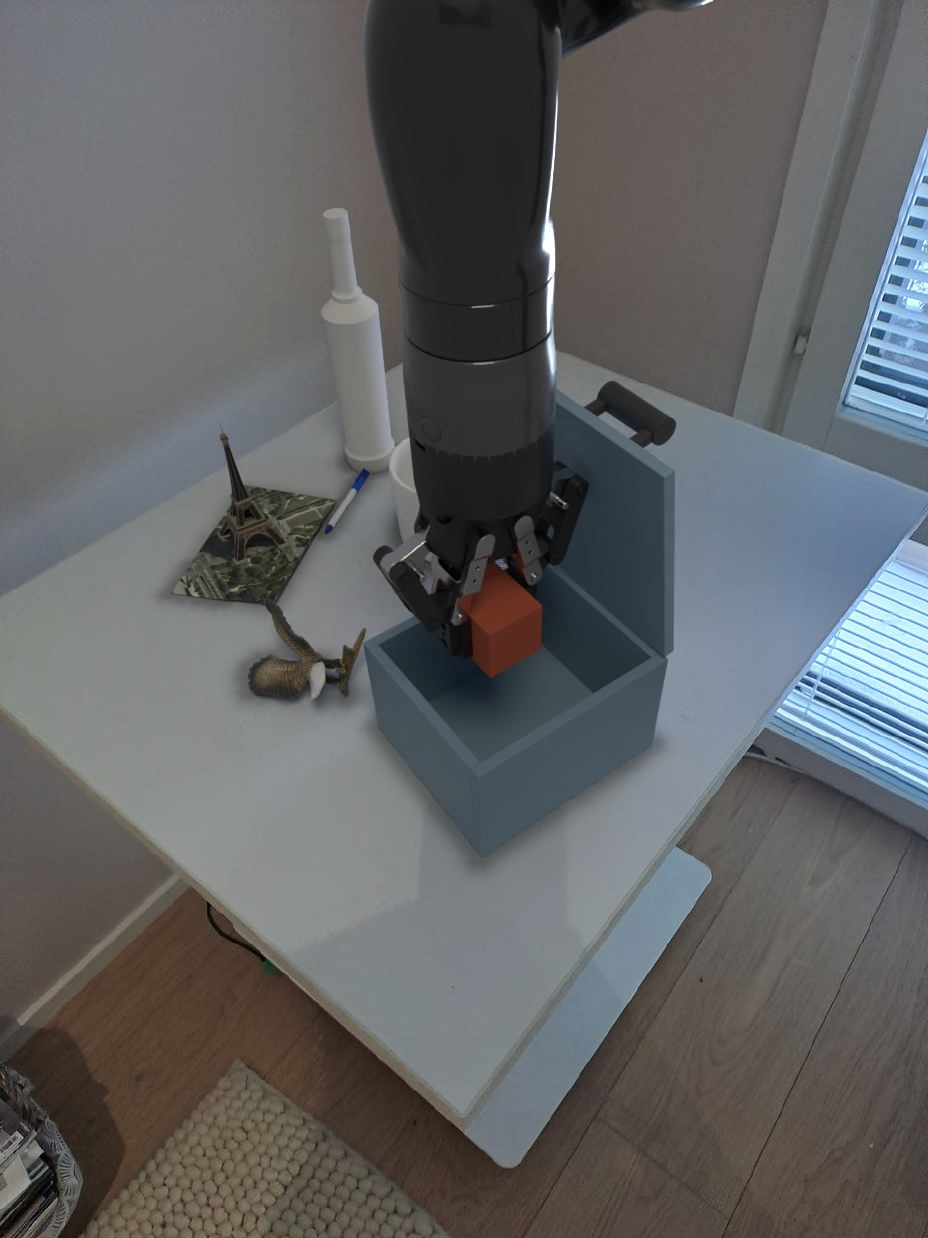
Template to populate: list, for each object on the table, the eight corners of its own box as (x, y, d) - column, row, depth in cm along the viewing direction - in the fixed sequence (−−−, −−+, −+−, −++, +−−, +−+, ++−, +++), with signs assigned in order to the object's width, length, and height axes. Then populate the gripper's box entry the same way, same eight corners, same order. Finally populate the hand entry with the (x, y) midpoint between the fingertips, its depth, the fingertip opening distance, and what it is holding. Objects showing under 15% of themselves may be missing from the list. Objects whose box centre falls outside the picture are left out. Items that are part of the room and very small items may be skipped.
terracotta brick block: (541, 649, 57) (542, 605, 54) (490, 678, 55) (489, 635, 53) (485, 595, 60) (484, 551, 57) (436, 622, 59) (432, 578, 56)
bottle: (352, 443, 94) (312, 199, 76) (400, 445, 94) (372, 200, 75) (341, 474, 91) (296, 226, 72) (391, 476, 90) (359, 227, 72)
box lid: (664, 477, 46) (734, 429, 48) (506, 366, 54) (570, 328, 55) (665, 657, 59) (720, 616, 60) (537, 547, 67) (588, 512, 68)
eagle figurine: (375, 635, 74) (274, 600, 75) (361, 622, 67) (249, 585, 68) (343, 723, 73) (241, 687, 74) (325, 720, 66) (213, 680, 67)
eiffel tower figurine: (276, 611, 78) (242, 489, 68) (171, 593, 80) (123, 472, 70) (337, 502, 88) (314, 383, 78) (242, 489, 90) (209, 370, 80)
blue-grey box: (481, 858, 61) (477, 778, 54) (378, 727, 69) (362, 642, 62) (652, 744, 67) (668, 658, 60) (538, 636, 75) (541, 548, 67)
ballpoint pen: (365, 468, 91) (363, 460, 91) (373, 469, 91) (372, 461, 91) (324, 534, 85) (322, 526, 84) (332, 536, 84) (330, 528, 84)
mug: (403, 576, 80) (394, 505, 74) (391, 502, 87) (383, 432, 81) (550, 556, 81) (553, 485, 75) (527, 484, 88) (528, 414, 82)
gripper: (545, 330, 50) (539, 557, 63) (321, 423, 45) (363, 649, 57) (637, 389, 46) (611, 619, 58) (401, 498, 40) (428, 726, 53)
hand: (488, 633), depth 58 cm, fingers closed on terracotta brick block, 4 cm apart
